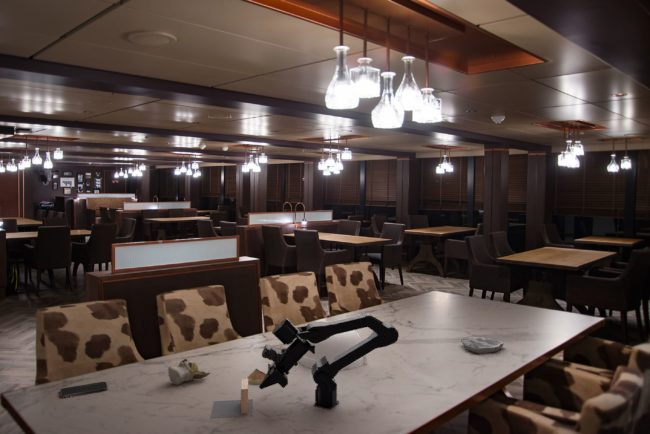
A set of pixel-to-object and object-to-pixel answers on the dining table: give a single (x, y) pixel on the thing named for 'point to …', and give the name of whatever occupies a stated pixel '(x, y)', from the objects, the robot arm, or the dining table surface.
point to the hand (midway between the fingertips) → (260, 387)
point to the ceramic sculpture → (185, 372)
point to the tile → (244, 396)
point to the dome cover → (334, 349)
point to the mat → (230, 409)
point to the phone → (83, 389)
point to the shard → (256, 377)
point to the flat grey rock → (482, 344)
